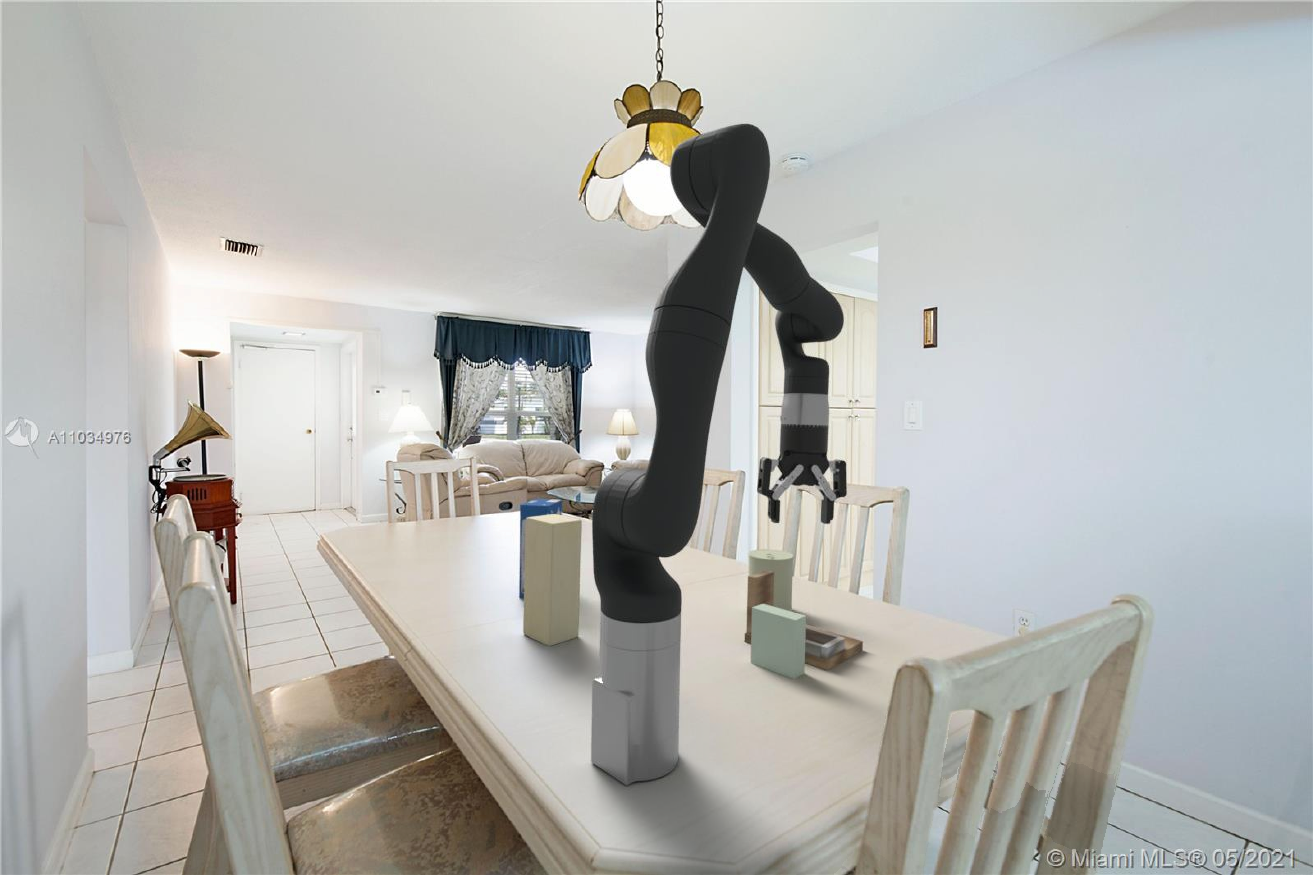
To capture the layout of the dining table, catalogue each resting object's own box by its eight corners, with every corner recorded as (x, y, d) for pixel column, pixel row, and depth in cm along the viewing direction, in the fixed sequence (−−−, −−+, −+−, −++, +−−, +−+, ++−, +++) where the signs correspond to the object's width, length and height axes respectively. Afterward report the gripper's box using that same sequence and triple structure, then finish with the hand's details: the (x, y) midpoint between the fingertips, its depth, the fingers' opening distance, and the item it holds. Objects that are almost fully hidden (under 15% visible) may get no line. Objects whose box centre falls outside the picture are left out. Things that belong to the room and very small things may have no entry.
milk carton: (535, 584, 136) (536, 498, 136) (561, 586, 135) (562, 499, 135) (519, 598, 126) (520, 504, 126) (547, 599, 125) (548, 505, 125)
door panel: (793, 679, 90) (795, 620, 89) (750, 662, 95) (752, 607, 95) (804, 673, 92) (806, 615, 91) (761, 657, 97) (762, 603, 97)
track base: (827, 670, 93) (829, 597, 92) (744, 641, 104) (746, 576, 104) (862, 649, 101) (864, 583, 101) (782, 625, 113) (784, 565, 112)
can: (744, 614, 118) (746, 555, 118) (748, 601, 127) (750, 545, 127) (791, 619, 116) (793, 558, 116) (792, 605, 125) (794, 548, 125)
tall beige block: (583, 635, 105) (585, 518, 105) (549, 647, 100) (551, 523, 99) (555, 624, 111) (557, 513, 110) (522, 634, 105) (523, 517, 105)
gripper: (769, 421, 91) (765, 526, 91) (857, 424, 93) (852, 527, 93) (754, 421, 98) (751, 518, 99) (836, 424, 100) (832, 519, 101)
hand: (800, 522), depth 96 cm, fingers open, 8 cm apart
